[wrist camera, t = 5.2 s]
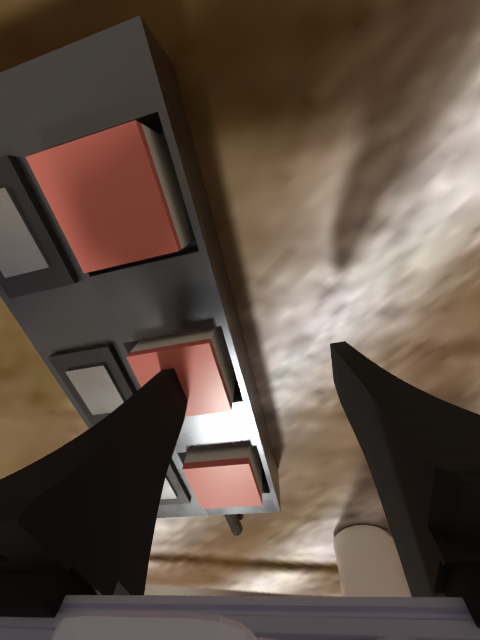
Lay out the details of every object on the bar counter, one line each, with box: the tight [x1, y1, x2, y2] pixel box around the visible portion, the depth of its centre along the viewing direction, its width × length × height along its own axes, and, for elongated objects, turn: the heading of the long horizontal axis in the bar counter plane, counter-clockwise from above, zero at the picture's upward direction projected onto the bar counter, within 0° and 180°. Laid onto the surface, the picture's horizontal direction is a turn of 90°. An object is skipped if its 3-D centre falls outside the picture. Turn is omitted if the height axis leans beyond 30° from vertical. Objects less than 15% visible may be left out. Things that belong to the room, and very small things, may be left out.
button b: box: [126, 326, 236, 417], centre depth 13 cm, size 4×4×3 cm
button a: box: [182, 445, 262, 509], centre depth 17 cm, size 4×4×3 cm
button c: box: [26, 120, 196, 273], centre depth 10 cm, size 4×4×3 cm
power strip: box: [0, 15, 281, 536], centre depth 16 cm, size 10×32×3 cm, turn 13°
